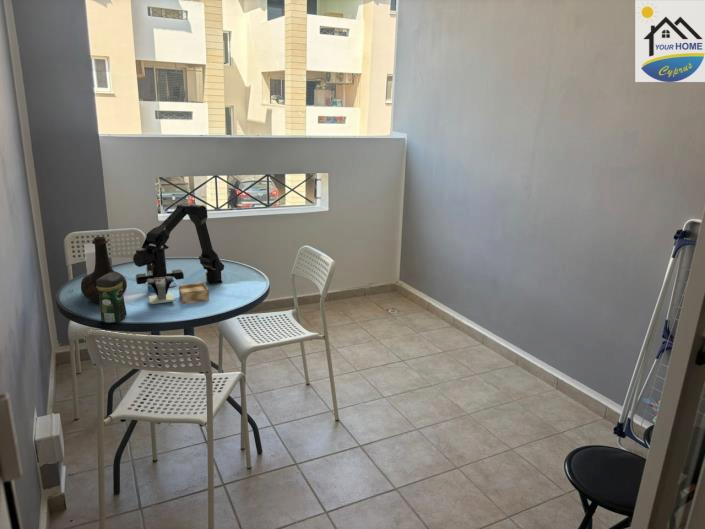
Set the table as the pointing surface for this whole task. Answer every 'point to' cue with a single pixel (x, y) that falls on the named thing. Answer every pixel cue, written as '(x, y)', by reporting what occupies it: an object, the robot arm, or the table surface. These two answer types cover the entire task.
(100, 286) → the coffee jar
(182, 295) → the oak box
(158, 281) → the ink box
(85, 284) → the glass bottle
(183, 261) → the table surface
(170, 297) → the cover plate
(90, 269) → the milk
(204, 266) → the robot arm
